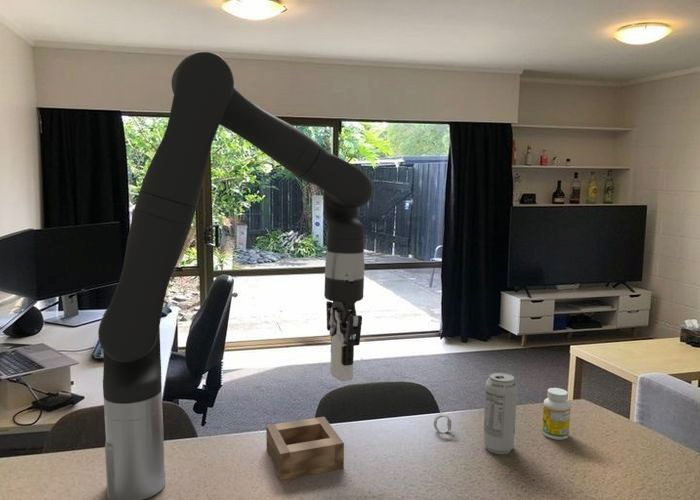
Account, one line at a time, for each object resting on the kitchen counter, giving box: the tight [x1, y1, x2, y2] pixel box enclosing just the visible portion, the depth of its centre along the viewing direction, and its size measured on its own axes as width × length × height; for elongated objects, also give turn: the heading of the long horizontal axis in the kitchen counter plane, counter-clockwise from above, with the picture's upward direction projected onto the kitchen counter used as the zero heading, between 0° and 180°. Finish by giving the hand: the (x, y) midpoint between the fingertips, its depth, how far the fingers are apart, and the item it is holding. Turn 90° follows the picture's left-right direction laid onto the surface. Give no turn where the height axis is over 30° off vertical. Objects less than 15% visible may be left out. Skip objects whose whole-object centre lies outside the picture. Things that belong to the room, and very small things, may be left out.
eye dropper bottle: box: [330, 327, 355, 382], centre depth 109 cm, size 4×6×12 cm
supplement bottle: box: [541, 387, 571, 441], centre depth 117 cm, size 5×5×10 cm
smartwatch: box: [433, 413, 452, 434], centre depth 119 cm, size 4×2×4 cm, turn 87°
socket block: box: [265, 416, 345, 481], centre depth 107 cm, size 12×12×5 cm
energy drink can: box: [482, 371, 518, 455], centre depth 111 cm, size 6×6×15 cm
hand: (341, 359), depth 109 cm, fingers closed on eye dropper bottle, 5 cm apart
